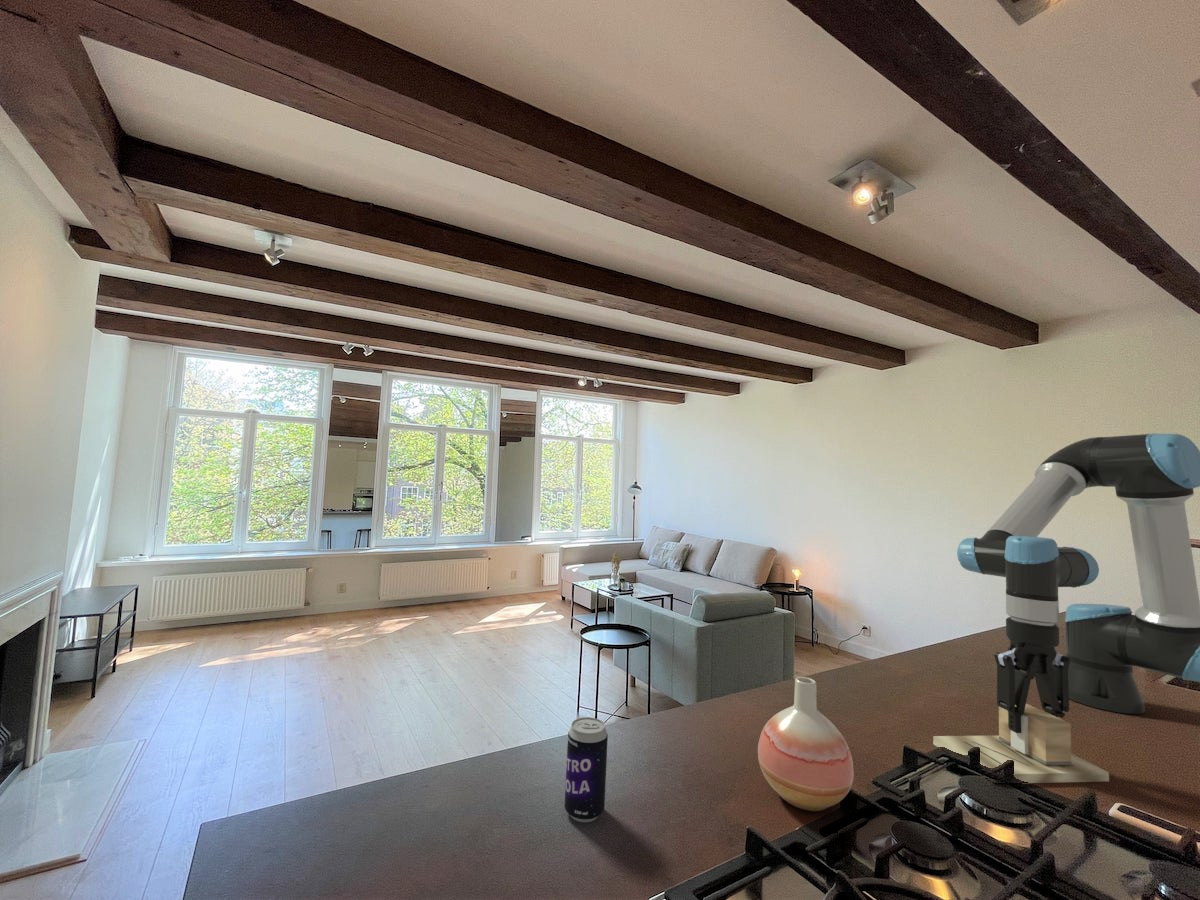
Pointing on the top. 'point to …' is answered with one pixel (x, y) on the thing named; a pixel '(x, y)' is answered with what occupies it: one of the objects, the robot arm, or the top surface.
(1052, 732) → the block
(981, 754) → the board
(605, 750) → the beverage can
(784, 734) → the vase
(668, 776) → the top surface
